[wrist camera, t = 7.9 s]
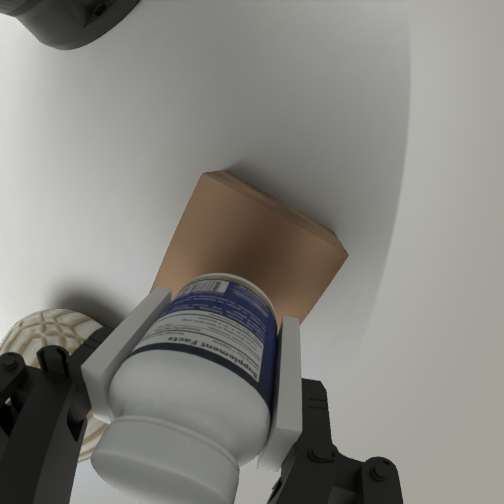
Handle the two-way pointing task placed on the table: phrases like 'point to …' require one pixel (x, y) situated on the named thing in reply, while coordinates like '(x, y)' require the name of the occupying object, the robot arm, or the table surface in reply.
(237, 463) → the pill bottle
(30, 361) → the vase
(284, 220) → the walnut block
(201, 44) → the table surface
